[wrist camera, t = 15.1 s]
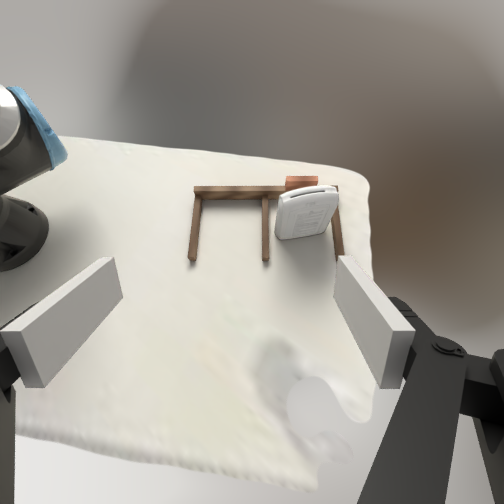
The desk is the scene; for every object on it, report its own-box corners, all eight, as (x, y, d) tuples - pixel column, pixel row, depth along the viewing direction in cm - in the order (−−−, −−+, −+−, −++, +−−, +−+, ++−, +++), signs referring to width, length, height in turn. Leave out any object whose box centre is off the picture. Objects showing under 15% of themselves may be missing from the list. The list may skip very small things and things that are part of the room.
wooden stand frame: (189, 260, 51) (181, 247, 46) (197, 194, 57) (190, 176, 52) (342, 261, 50) (352, 248, 45) (333, 194, 56) (341, 175, 51)
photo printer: (321, 215, 54) (337, 176, 43) (327, 233, 53) (346, 197, 41) (272, 224, 54) (275, 186, 42) (276, 242, 52) (281, 208, 41)
